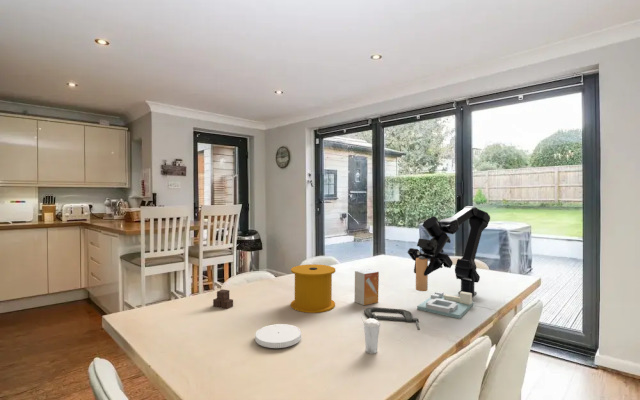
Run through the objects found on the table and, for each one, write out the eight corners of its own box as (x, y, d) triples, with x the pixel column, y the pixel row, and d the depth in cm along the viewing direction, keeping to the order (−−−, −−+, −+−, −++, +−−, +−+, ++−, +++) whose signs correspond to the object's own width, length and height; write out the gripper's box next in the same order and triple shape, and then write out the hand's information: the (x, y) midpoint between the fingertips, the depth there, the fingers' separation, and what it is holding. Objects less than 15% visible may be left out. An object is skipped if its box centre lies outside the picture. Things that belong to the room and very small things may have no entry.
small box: (364, 306, 135) (364, 273, 134) (354, 301, 140) (354, 270, 140) (378, 302, 139) (379, 271, 139) (368, 298, 144) (368, 268, 144)
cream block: (445, 297, 142) (445, 288, 142) (471, 302, 135) (472, 293, 135) (443, 299, 139) (443, 290, 139) (470, 304, 133) (470, 294, 133)
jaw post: (416, 287, 138) (417, 255, 137) (428, 288, 136) (428, 256, 135) (414, 290, 134) (414, 257, 133) (426, 291, 132) (426, 258, 131)
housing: (434, 297, 147) (434, 290, 147) (473, 304, 137) (473, 297, 137) (417, 309, 131) (417, 301, 131) (459, 318, 121) (459, 310, 121)
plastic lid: (305, 348, 98) (305, 339, 98) (257, 354, 94) (257, 345, 94) (295, 329, 111) (295, 322, 111) (253, 334, 107) (253, 326, 107)
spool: (344, 305, 136) (344, 268, 136) (313, 316, 123) (313, 276, 122) (312, 295, 148) (312, 262, 148) (281, 305, 135) (281, 268, 135)
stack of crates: (251, 304, 138) (251, 287, 138) (227, 315, 124) (227, 297, 124) (223, 299, 144) (223, 283, 144) (197, 309, 131) (197, 292, 130)
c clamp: (419, 313, 128) (419, 306, 128) (420, 331, 111) (420, 323, 111) (366, 308, 133) (366, 301, 133) (359, 324, 117) (359, 316, 117)
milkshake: (359, 348, 97) (359, 314, 97) (377, 347, 98) (377, 313, 98) (362, 355, 93) (362, 319, 93) (381, 354, 93) (381, 319, 93)
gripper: (410, 229, 144) (392, 257, 138) (448, 233, 129) (429, 265, 123) (422, 245, 149) (405, 273, 143) (460, 252, 133) (443, 283, 127)
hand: (419, 273), depth 134 cm, fingers closed on jaw post, 5 cm apart
